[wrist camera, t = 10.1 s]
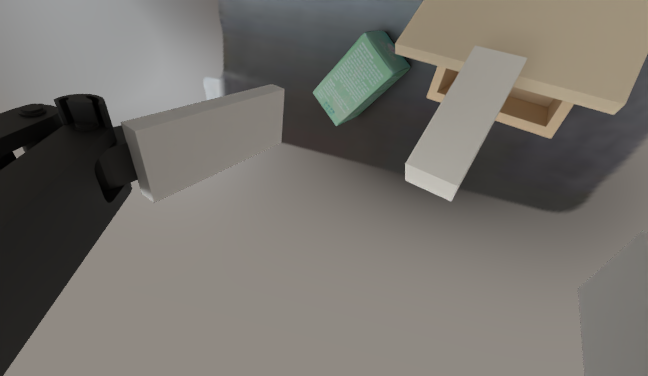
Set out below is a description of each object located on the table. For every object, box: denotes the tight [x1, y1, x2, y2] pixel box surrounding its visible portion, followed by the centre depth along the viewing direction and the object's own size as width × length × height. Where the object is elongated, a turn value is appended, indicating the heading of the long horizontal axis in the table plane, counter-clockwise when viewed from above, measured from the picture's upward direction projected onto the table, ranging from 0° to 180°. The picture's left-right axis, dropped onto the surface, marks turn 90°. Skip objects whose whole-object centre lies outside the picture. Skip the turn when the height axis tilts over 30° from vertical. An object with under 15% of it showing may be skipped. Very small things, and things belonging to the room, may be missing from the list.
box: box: [313, 31, 411, 126], centre depth 48 cm, size 7×14×8 cm, turn 136°
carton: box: [426, 66, 574, 139], centre depth 32 cm, size 18×14×10 cm
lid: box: [395, 0, 648, 201], centre depth 19 cm, size 27×14×2 cm
